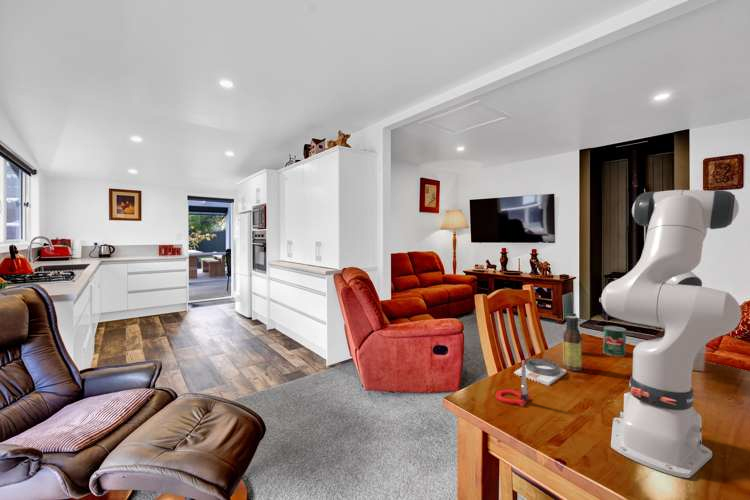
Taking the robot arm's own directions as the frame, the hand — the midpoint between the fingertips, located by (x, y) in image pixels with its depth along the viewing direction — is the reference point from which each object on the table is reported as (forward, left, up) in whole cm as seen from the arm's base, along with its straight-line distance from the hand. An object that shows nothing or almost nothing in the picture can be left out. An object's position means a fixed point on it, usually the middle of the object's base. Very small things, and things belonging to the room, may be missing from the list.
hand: (608, 303), depth 124 cm
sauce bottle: (-8, +9, -26) cm, 28 cm away
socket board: (-22, +15, -25) cm, 37 cm away
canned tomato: (+24, +3, -26) cm, 35 cm away
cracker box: (+30, -19, -26) cm, 44 cm away
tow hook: (-48, +13, -26) cm, 56 cm away
